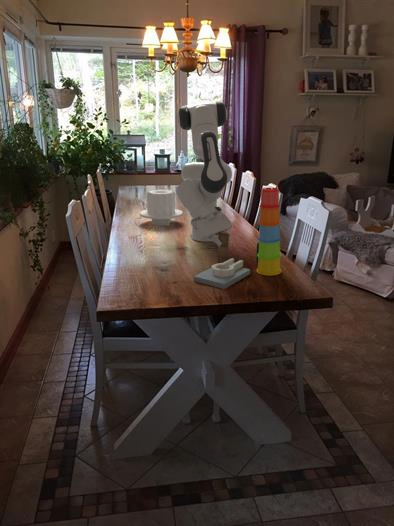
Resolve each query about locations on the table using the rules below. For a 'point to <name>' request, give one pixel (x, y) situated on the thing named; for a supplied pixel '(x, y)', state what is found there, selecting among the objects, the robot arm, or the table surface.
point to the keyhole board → (221, 280)
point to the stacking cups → (269, 233)
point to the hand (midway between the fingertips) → (224, 243)
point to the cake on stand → (161, 207)
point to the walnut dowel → (223, 245)
